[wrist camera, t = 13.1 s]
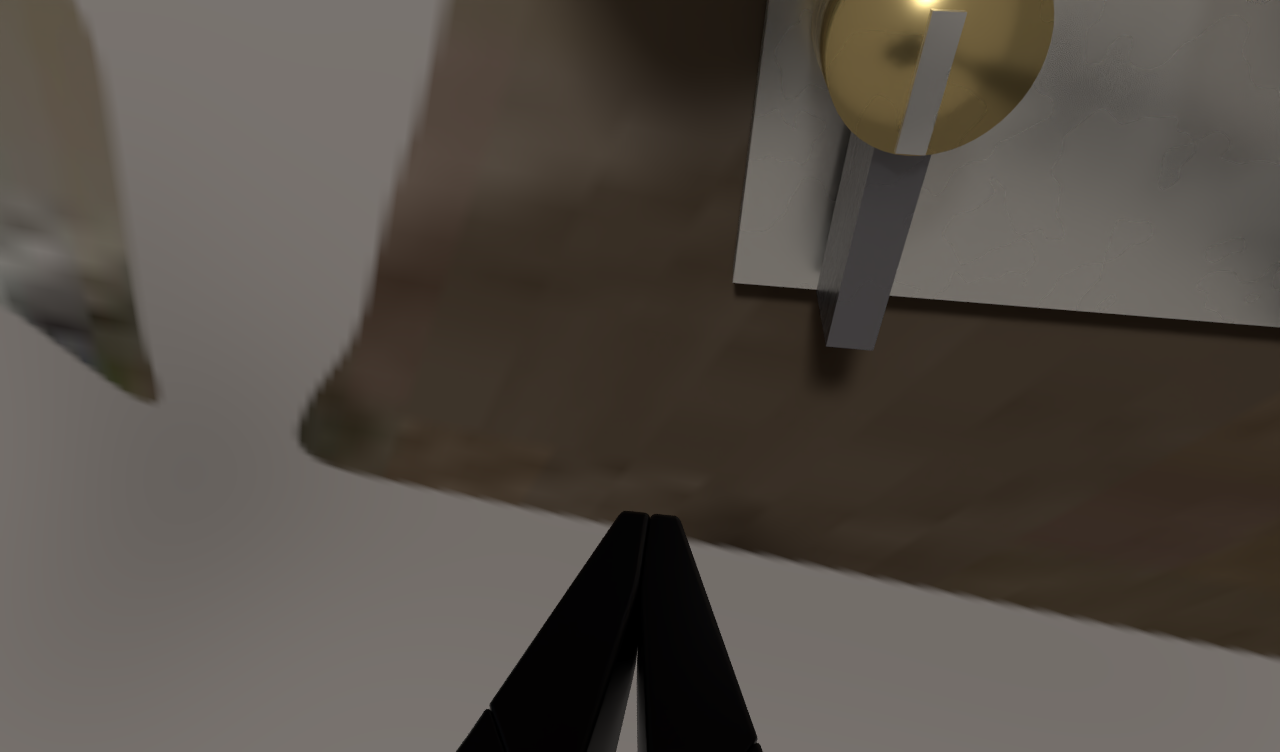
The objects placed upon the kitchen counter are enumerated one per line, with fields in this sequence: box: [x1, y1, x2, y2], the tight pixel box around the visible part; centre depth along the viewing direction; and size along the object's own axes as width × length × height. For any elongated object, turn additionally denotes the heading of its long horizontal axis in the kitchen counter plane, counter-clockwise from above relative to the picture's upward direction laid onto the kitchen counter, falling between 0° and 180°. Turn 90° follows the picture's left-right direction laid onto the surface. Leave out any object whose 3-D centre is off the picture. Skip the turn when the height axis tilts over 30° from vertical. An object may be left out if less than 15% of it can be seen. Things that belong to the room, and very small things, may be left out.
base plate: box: [733, 0, 1280, 327], centre depth 16 cm, size 14×22×1 cm, turn 88°
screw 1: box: [811, 0, 1054, 350], centre depth 16 cm, size 9×4×4 cm, turn 178°
